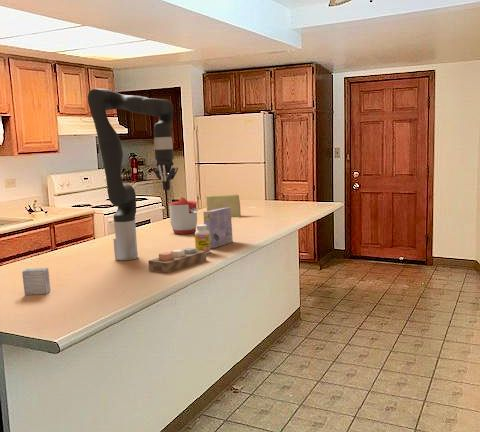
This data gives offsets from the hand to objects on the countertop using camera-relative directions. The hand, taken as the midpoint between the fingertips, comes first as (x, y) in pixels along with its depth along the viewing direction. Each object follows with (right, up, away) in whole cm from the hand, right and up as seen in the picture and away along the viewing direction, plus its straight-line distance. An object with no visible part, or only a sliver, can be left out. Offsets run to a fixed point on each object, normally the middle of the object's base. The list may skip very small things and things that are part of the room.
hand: (166, 190), depth 225 cm
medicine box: (-41, -38, -33) cm, 65 cm away
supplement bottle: (+14, -28, +21) cm, 38 cm away
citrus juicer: (0, -20, +77) cm, 80 cm away
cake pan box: (+21, -25, +38) cm, 50 cm away
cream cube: (+5, -29, -1) cm, 30 cm away
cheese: (+21, -12, +130) cm, 132 cm away
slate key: (+9, -29, +5) cm, 31 cm away
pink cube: (+1, -30, -7) cm, 31 cm away
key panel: (+5, -31, -1) cm, 32 cm away
